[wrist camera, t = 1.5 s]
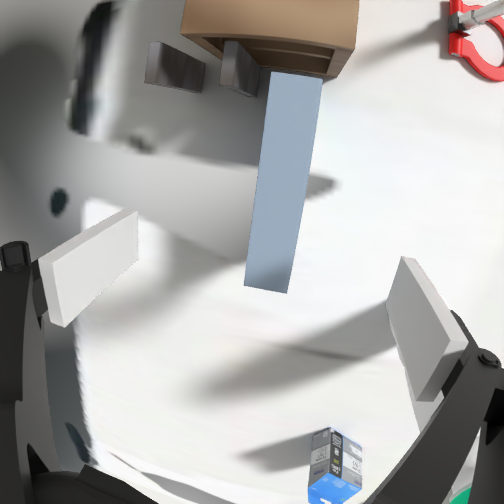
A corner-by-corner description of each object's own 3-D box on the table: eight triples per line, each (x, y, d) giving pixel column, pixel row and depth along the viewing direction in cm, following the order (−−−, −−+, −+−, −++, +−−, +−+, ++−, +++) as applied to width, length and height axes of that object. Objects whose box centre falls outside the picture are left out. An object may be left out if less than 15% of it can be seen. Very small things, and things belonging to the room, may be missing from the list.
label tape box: (362, 446, 43) (365, 509, 32) (342, 455, 45) (342, 516, 34) (331, 425, 42) (329, 495, 31) (310, 435, 43) (304, 502, 32)
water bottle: (421, 344, 34) (473, 533, 11) (376, 325, 34) (412, 541, 11) (455, 299, 31) (549, 485, 8) (411, 275, 31) (503, 491, 8)
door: (283, 90, 27) (269, 71, 17) (317, 95, 26) (323, 79, 16) (263, 232, 32) (242, 285, 22) (294, 238, 32) (286, 293, 22)
